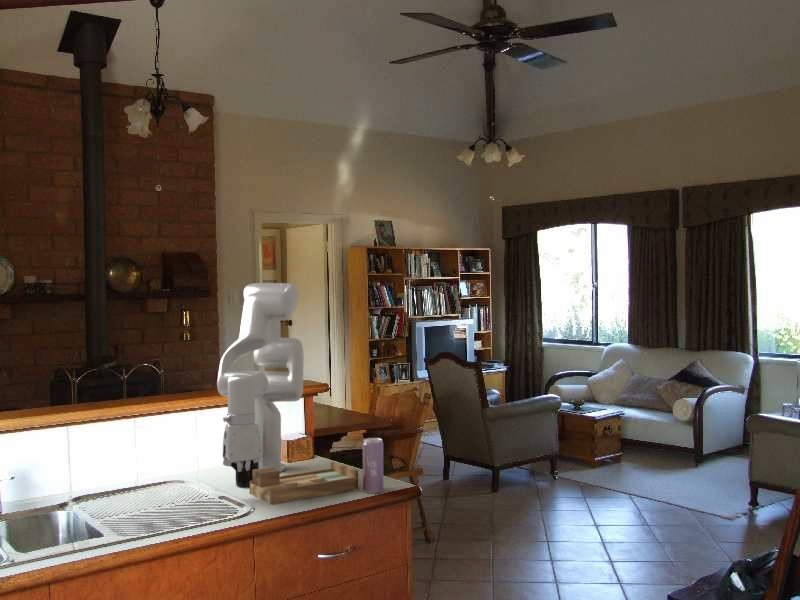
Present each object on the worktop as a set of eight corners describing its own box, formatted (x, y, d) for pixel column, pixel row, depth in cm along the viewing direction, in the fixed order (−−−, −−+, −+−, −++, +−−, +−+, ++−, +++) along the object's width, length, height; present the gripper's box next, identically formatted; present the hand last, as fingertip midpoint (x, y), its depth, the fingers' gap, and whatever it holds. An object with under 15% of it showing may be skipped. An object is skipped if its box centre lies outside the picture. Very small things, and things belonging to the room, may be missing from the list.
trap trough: (249, 493, 234) (249, 474, 234) (333, 479, 250) (333, 461, 250) (271, 504, 223) (271, 484, 222) (358, 489, 239) (358, 470, 239)
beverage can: (384, 488, 240) (384, 437, 239) (381, 494, 234) (382, 442, 233) (364, 488, 240) (364, 437, 240) (361, 493, 234) (361, 441, 234)
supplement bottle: (263, 484, 245) (263, 444, 244) (248, 489, 239) (248, 448, 238) (246, 481, 248) (246, 441, 248) (230, 486, 242) (230, 445, 242)
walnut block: (252, 483, 233) (252, 469, 233) (271, 480, 237) (271, 467, 237) (260, 487, 229) (260, 473, 229) (279, 484, 233) (279, 470, 233)
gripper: (221, 424, 220) (221, 491, 221) (271, 418, 229) (272, 483, 230) (210, 420, 226) (211, 485, 227) (260, 414, 235) (260, 478, 236)
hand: (241, 484), depth 228 cm, fingers closed
